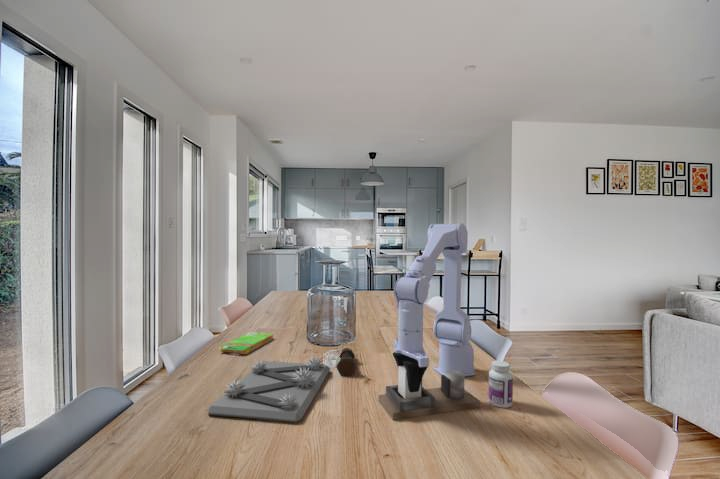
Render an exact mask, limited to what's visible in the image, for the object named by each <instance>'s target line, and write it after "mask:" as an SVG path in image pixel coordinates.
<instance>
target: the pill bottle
mask: <svg viewBox="0 0 720 479" xmlns="http://www.w3.org/2000/svg"><path fill="white" fill-rule="evenodd" d="M510 367H511V366H510V363H509V362H507V361H504V360H493V361H492V362H491V369H490V370H489V372H488V403H490V404H491V405H492V406H494V407H498V408H503V409H507V408H510V407H512V406H513V399H514V398H513V397H514V396H513V388H514V387H513V384H514V382H513V381H514V380H513V378H514V377H513V373H511V372H510V369H511V368H510Z"/></svg>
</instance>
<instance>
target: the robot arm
mask: <svg viewBox="0 0 720 479" xmlns="http://www.w3.org/2000/svg"><path fill="white" fill-rule="evenodd" d="M427 228H428V229H427V243H426V246H425V247H424V250H423V253H422V254H421V255H418V256H416V257H415V259H414V260H413V262H412V264H411V265H410V267H409V269H408V270H407V272H406V274H405V275H404V276H402V277H400V278H398V279H396V282H395V284H394V289H393V295H394V298H395V299H394V300H395V303H396V304H395V306H396V308H397V309H398V311H397V312H398V319H397V322H398V323H397V324H398V325H397V327H398V328H397V329H398V330H397V338H396V339H395V338H394V340H393V342H394V344H393V345H394V347H392V350H393V352H392V356H393V358H394V361H395V363H396V365H397V366H396V367H397V368H398V366H405V369H406V373H407V378H408V388H409V391H410V392H418V391H419V388H420V384H421V381H422V382H423V377H424V375H425V372H426V370H427V369H428V367H429V366H430V357H429V356H428V355H427V354H426V351H425V349H424V347H423V344H424V303H425V302H426V301H427V300H428V296H429V289H430V287H431V286H430V282H431V280H432V278H433V276H434V274H435V271H436V269H437V264H436V261H437V259H438V258H439V257H440V255H441V254H442V255H443V256H444V259H443V260H444V262H443V265H444V266H443V300H442V301H443V304H442V305H443V307H442V308H443V309H441V310H439V311H438V312H436V314H435V315H434V323H433V327H432V328H433V330H432V331H433V335H434V337H435V339H437V342H438V343H439V345H438V346H439V348H438V349H439V350H438V352H439V353H438V360H439V361H438V366H433V367H432V368H433V370H434V371H436V372H437V373H438V374H440V375H445V373H446V372H447V371H451V370H453V371H459V372H462V373H464V375H465V377H471V376H472V377H473V376H475V375H476V372H474V365H475V364H474V363H475V362H474V360H475V353H474V348H473V345H472V344H471V343H470V340H471V339H472V326H471V318H470V316H469V315H468V314H467V312H465V311H463V310H462V308H461V301H462V300H461V299H462V298H461V297H462V296H461V294H462V259H463V257H462V256H463V254H464V253H466V252H467V251H468V243H469V242H468V237H469V236H468V230H467V226H466V225H465V224H464V223H462V222H461V223H431V224H430V225H429V226H428V227H427Z"/></svg>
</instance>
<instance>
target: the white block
mask: <svg viewBox="0 0 720 479" xmlns="http://www.w3.org/2000/svg"><path fill="white" fill-rule="evenodd" d="M397 370H398V373H397V374H398V376H397V378H398V379H397V381H398V382H397V385H398V392H399V393H400V394H401V395H402V396H403V397H404V398H405V399H409V398H416V397H421V391H422V387H423V380H422V381H421V384H420V388H419V391H418V392H410V391H409V388H408V378H407V373H406V369H405V366H398V367H397Z"/></svg>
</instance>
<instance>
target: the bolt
mask: <svg viewBox="0 0 720 479" xmlns="http://www.w3.org/2000/svg"><path fill="white" fill-rule="evenodd" d="M339 355H340V356H338V358H339V357H340V358H341V359H340V358H339V360H338V363H337V364H336V367H335V368H336V370H337V371H338V373H339V375H340V376H343V377H350V376H353V374H354V373H355V371H356V369H357V366H358V365H357V364H356V363H355V358H356V355H355V354H354V351H353V349H352V348H348V347H346V348H343V349H342V350H341V352H340V353H339Z"/></svg>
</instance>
